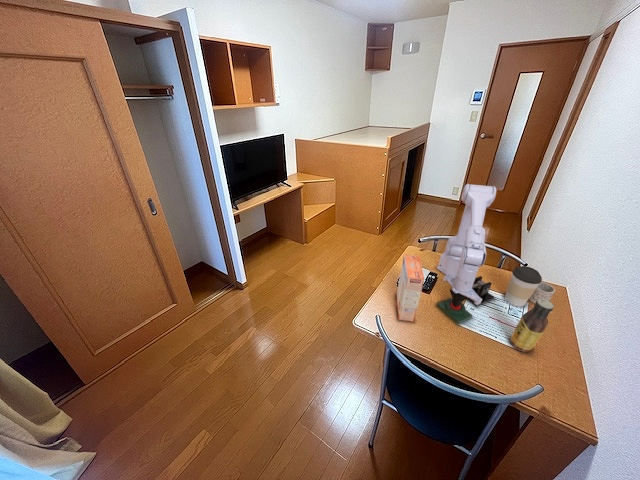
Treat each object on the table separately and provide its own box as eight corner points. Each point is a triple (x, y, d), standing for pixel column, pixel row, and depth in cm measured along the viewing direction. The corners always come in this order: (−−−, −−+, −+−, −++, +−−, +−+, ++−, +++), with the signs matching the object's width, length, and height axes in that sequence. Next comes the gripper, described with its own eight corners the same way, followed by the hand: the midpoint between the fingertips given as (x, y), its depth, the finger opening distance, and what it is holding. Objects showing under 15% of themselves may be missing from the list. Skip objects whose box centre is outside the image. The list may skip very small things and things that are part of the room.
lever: (465, 293, 98) (468, 287, 96) (459, 288, 100) (462, 283, 98) (484, 288, 103) (487, 283, 102) (478, 284, 105) (481, 279, 104)
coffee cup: (520, 292, 107) (535, 263, 99) (533, 309, 100) (550, 279, 92) (497, 291, 108) (510, 263, 100) (508, 307, 100) (522, 278, 93)
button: (447, 307, 99) (448, 303, 98) (454, 304, 100) (455, 300, 99) (455, 313, 96) (456, 310, 95) (462, 310, 98) (463, 307, 97)
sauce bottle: (510, 333, 90) (533, 291, 80) (532, 343, 87) (559, 300, 76) (507, 346, 86) (531, 303, 76) (530, 357, 83) (558, 313, 72)
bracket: (476, 307, 101) (482, 291, 97) (459, 294, 107) (464, 278, 103) (493, 299, 105) (500, 283, 100) (476, 287, 111) (481, 271, 107)
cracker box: (414, 322, 96) (425, 278, 85) (397, 320, 97) (406, 276, 86) (411, 296, 107) (420, 254, 96) (396, 294, 108) (403, 253, 97)
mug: (550, 301, 103) (558, 288, 99) (542, 308, 100) (550, 295, 96) (523, 287, 110) (529, 274, 107) (515, 293, 107) (521, 280, 104)
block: (436, 306, 102) (438, 300, 100) (449, 300, 104) (451, 294, 103) (457, 324, 94) (460, 318, 92) (471, 318, 97) (473, 311, 95)
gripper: (440, 269, 95) (433, 296, 102) (475, 294, 83) (464, 322, 90) (454, 263, 97) (446, 291, 104) (490, 287, 86) (478, 316, 93)
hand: (455, 305), depth 97 cm, fingers closed, pressing on button
